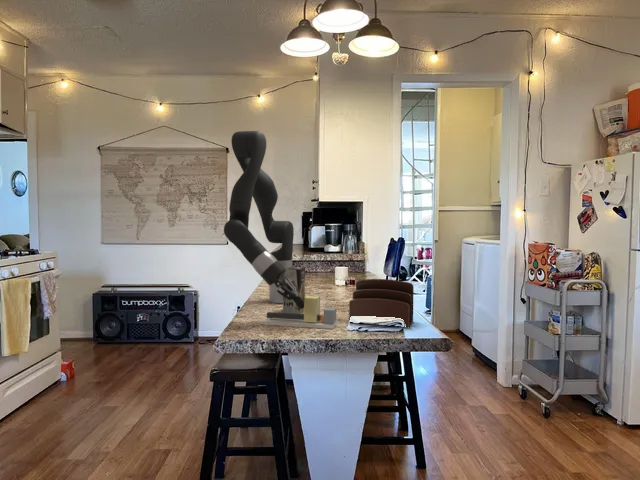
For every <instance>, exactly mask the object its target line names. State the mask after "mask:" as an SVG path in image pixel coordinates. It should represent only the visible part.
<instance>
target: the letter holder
mask: <svg viewBox="0 0 640 480" xmlns="http://www.w3.org/2000/svg"><path fill="white" fill-rule="evenodd" d="M414 293H415V292H414V284H413V283H411V282H407V281H404V280H398V279H389V278H388V279H386V278H384V279H383V278H368V279H359V280H357V281H356V282H355V290H354V291H353V292H352V299H350V300H349V303H348V307H349V308H348V310H349V311H348V321H349V320H350V317H351V316H376V317H395V318H401V319H403V320H404V322H405V324H406V327H409V328H411V326H410V325H412V324H413V322H414ZM411 323H412V324H411Z"/></svg>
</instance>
